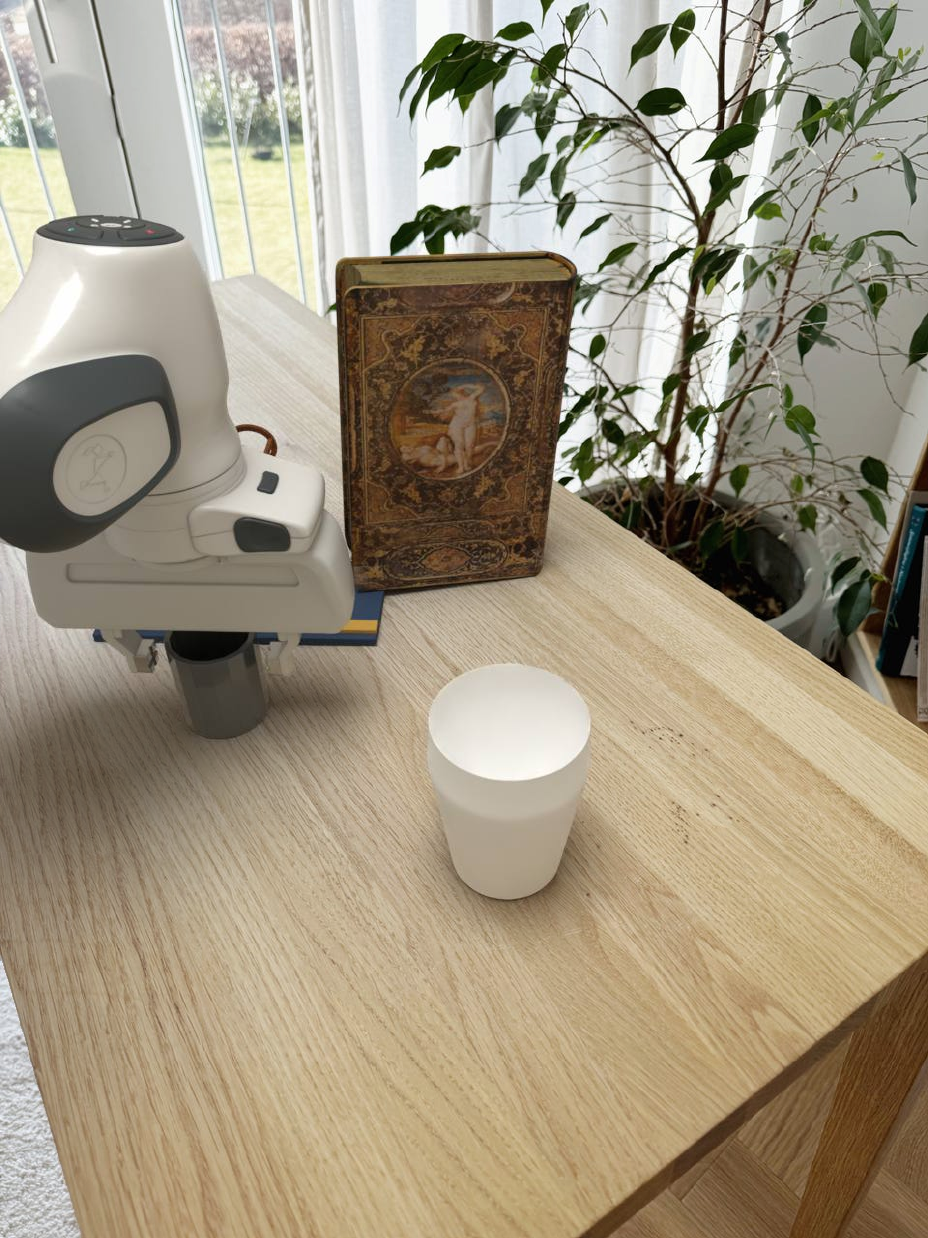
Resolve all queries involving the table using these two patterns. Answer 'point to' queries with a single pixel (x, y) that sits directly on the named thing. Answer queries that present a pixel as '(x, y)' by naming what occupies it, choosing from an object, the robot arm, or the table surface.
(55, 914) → the table surface
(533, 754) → the cup
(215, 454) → the robot arm
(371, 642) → the towel
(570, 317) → the book
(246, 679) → the grey tumbler
